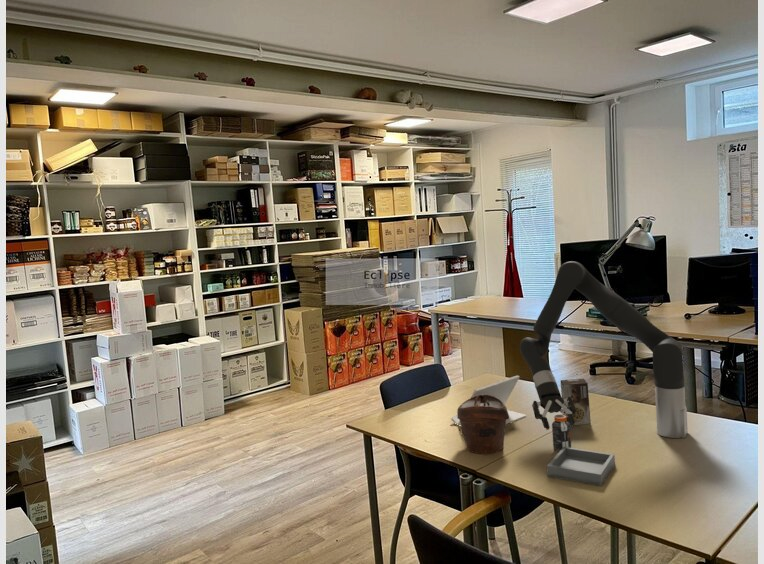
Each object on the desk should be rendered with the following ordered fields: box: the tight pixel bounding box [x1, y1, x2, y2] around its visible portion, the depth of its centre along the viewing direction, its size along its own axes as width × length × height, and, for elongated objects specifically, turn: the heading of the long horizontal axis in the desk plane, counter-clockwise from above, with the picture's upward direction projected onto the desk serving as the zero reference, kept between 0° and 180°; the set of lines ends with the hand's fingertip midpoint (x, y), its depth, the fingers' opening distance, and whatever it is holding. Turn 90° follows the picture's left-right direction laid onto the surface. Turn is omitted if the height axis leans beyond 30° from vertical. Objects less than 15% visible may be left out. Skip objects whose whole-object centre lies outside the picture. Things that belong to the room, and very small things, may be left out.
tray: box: [546, 447, 616, 487], centre depth 179 cm, size 16×16×4 cm
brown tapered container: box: [456, 395, 509, 455], centre depth 205 cm, size 18×20×18 cm
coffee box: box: [560, 378, 592, 426], centre depth 220 cm, size 9×6×16 cm
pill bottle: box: [551, 414, 572, 452], centre depth 198 cm, size 6×6×11 cm
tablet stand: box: [450, 375, 527, 425], centre depth 231 cm, size 18×25×17 cm
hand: (560, 427), depth 198 cm, fingers open, 8 cm apart
